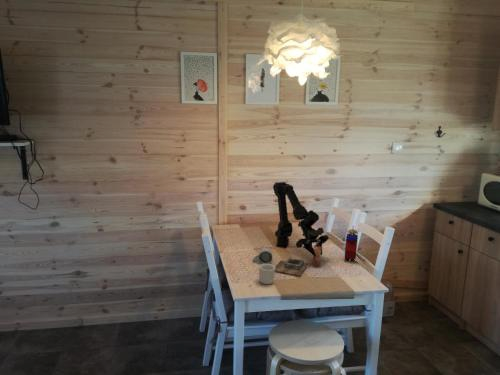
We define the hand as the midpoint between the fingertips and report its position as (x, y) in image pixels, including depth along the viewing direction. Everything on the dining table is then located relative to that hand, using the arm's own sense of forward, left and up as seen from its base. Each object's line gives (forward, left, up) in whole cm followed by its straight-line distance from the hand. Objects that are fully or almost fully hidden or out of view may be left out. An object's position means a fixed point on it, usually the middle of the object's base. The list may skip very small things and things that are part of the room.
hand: (318, 255), depth 212 cm
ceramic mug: (-29, -7, -7) cm, 31 cm away
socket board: (-13, -10, -7) cm, 17 cm away
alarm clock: (+13, +20, -7) cm, 25 cm away
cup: (-19, -28, -7) cm, 35 cm away
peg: (-1, +1, -7) cm, 7 cm away
